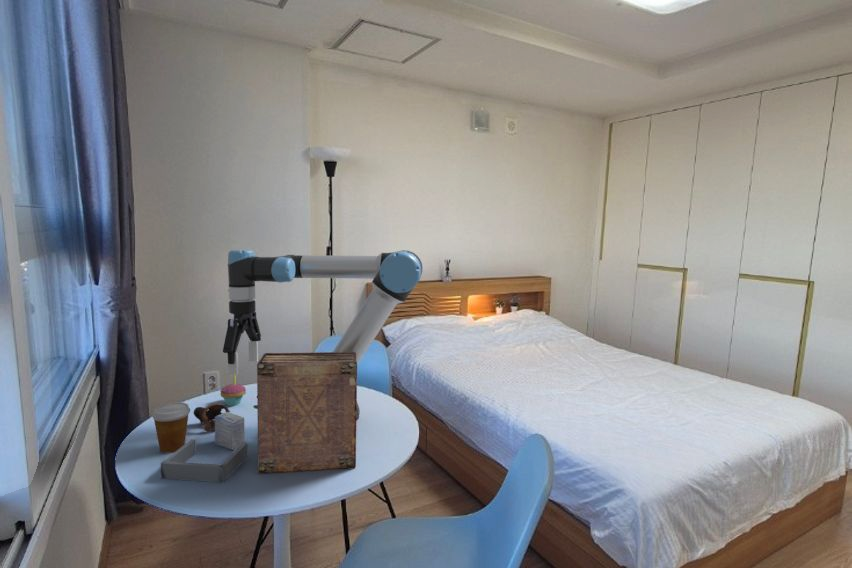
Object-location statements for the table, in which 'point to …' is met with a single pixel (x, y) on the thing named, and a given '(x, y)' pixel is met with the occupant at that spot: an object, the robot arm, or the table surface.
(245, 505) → the table surface
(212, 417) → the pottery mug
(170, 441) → the disposable coffee cup
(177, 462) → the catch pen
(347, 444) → the book
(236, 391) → the cupcake
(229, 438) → the medicine box
